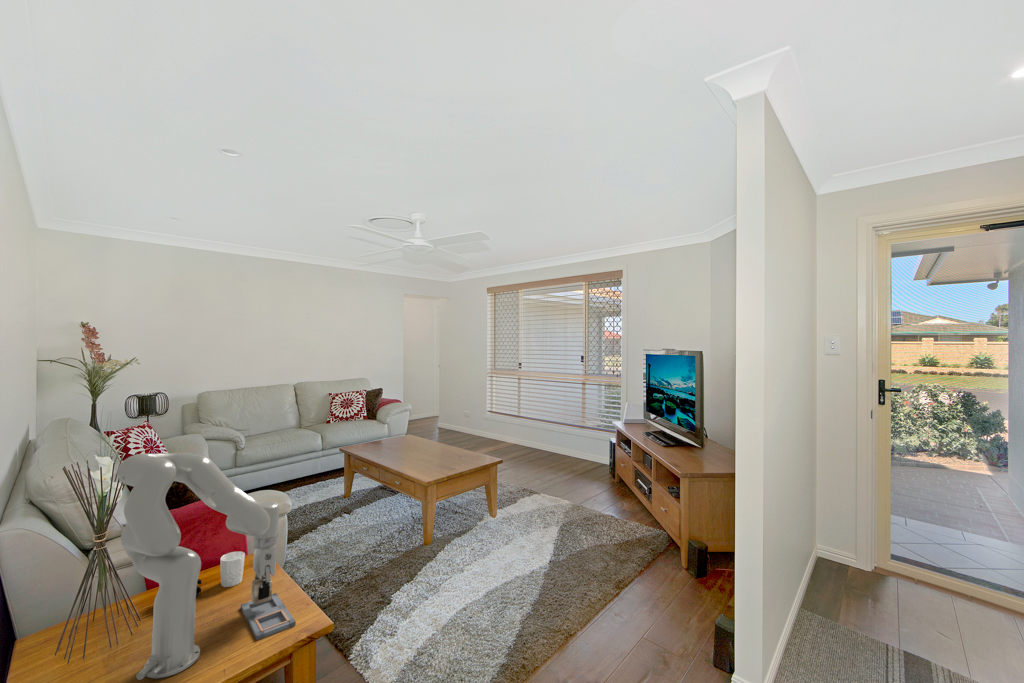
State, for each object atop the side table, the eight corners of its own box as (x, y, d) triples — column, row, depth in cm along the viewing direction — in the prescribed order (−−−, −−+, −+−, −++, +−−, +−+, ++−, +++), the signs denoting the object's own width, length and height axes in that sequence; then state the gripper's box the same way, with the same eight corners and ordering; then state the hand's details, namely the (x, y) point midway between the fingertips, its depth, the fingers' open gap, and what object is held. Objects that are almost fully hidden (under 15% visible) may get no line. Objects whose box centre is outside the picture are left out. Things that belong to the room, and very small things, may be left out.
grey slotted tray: (295, 626, 140) (295, 620, 140) (257, 641, 132) (257, 635, 132) (275, 597, 156) (276, 592, 156) (240, 608, 148) (240, 603, 148)
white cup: (248, 578, 168) (249, 552, 168) (233, 589, 160) (234, 561, 161) (229, 576, 169) (230, 550, 169) (214, 587, 161) (215, 560, 161)
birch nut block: (271, 599, 147) (272, 581, 147) (254, 604, 144) (255, 586, 144) (267, 593, 151) (268, 576, 151) (250, 598, 147) (252, 580, 148)
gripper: (284, 545, 145) (280, 601, 144) (270, 530, 157) (266, 581, 156) (259, 551, 140) (255, 609, 139) (246, 535, 152) (242, 588, 151)
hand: (261, 594), depth 147 cm, fingers closed on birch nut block, 5 cm apart
